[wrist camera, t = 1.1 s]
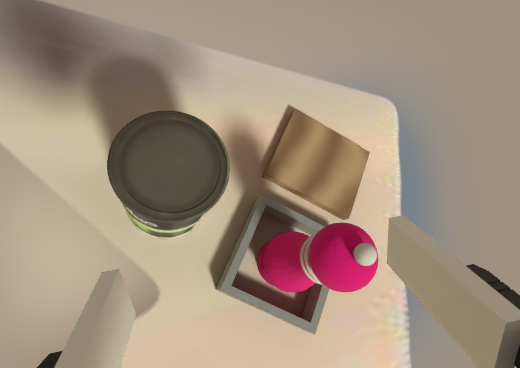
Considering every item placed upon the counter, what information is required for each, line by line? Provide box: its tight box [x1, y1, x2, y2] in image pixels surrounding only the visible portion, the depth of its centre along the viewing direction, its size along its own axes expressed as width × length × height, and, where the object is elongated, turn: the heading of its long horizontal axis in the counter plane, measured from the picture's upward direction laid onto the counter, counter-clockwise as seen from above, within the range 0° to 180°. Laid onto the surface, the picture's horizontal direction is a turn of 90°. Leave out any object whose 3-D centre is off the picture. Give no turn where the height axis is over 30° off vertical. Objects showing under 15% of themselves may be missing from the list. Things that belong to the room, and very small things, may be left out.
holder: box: [216, 194, 329, 334], centre depth 41 cm, size 13×13×3 cm
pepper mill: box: [258, 223, 378, 292], centre depth 33 cm, size 7×7×20 cm
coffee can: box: [107, 111, 230, 239], centre depth 33 cm, size 10×10×14 cm
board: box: [263, 109, 370, 220], centre depth 47 cm, size 14×12×2 cm
